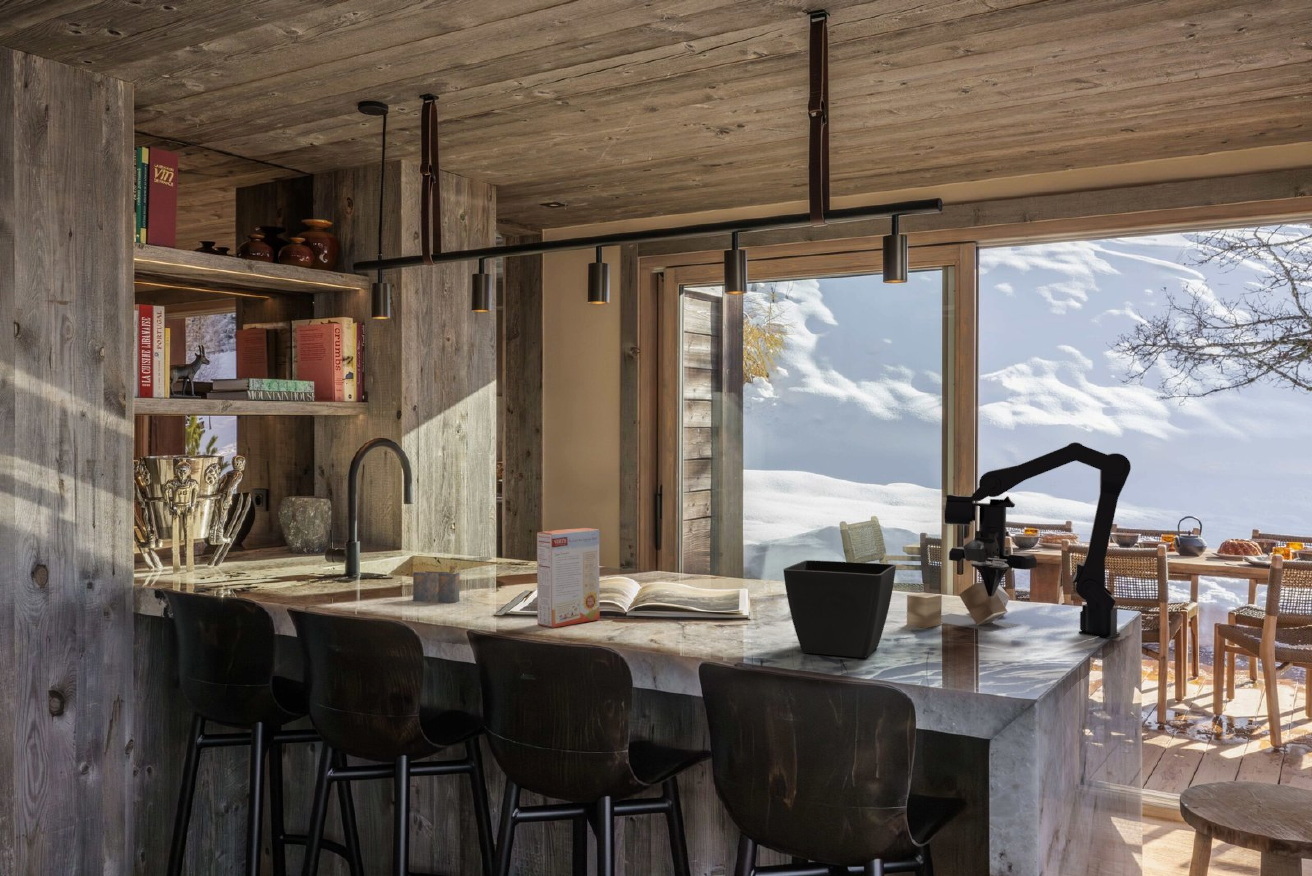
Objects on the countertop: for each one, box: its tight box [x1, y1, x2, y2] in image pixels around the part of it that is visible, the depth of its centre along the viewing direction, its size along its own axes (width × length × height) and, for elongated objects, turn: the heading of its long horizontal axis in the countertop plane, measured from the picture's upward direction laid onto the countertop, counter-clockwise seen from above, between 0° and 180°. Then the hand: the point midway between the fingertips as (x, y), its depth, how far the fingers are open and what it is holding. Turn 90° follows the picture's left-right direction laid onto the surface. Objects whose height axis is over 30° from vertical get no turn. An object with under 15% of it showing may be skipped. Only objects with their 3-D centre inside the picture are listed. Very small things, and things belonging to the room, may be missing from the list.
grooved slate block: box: [412, 563, 460, 604], centre depth 253 cm, size 11×3×10 cm, turn 78°
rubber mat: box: [941, 612, 1021, 632], centre depth 229 cm, size 18×12×1 cm, turn 41°
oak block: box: [906, 592, 943, 629], centre depth 226 cm, size 5×6×7 cm
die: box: [976, 581, 1011, 608], centre depth 240 cm, size 8×9×10 cm
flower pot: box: [783, 559, 897, 659], centre depth 199 cm, size 19×19×17 cm
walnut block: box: [958, 581, 1009, 626], centre depth 227 cm, size 5×6×8 cm
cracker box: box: [536, 527, 601, 629], centre depth 226 cm, size 14×6×21 cm, turn 135°
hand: (990, 596), depth 225 cm, fingers closed
